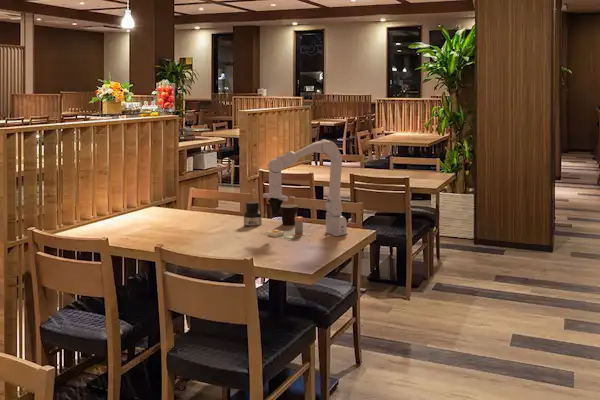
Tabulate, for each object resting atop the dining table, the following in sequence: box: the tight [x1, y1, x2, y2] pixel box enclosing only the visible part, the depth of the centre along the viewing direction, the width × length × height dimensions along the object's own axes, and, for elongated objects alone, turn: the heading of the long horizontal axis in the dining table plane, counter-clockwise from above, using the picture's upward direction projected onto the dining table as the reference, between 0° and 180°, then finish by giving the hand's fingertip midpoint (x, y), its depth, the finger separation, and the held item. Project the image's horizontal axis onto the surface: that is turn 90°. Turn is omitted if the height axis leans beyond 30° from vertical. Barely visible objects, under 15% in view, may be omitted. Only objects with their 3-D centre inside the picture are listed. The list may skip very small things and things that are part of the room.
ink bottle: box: [243, 200, 263, 228], centre depth 317 cm, size 10×9×12 cm
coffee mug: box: [280, 204, 299, 227], centre depth 319 cm, size 12×9×10 cm
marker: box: [294, 216, 304, 235], centre depth 294 cm, size 4×4×8 cm
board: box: [261, 227, 314, 241], centre depth 296 cm, size 19×16×2 cm
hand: (275, 214), depth 292 cm, fingers closed
